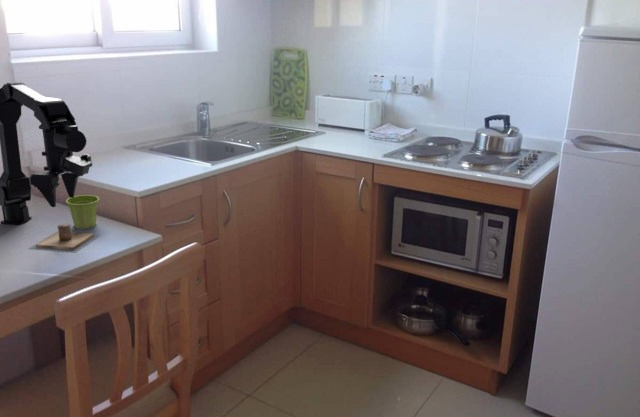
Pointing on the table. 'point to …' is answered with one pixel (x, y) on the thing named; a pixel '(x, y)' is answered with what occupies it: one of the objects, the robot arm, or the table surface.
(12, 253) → the table surface
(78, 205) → the plant pot
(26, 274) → the table surface
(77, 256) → the table surface
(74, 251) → the mat
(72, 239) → the lid
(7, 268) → the table surface
